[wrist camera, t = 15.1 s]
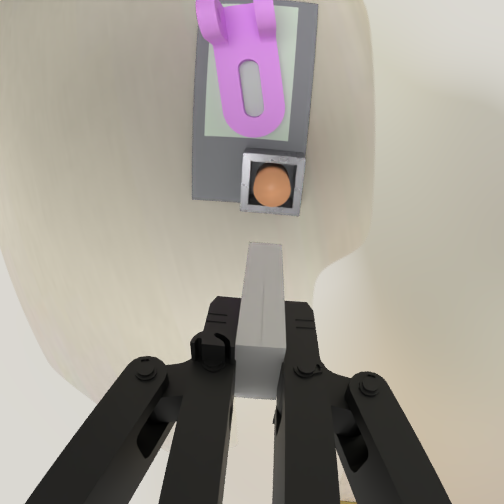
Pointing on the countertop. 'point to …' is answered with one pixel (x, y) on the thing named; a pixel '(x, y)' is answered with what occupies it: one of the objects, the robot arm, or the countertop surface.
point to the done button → (272, 185)
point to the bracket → (240, 50)
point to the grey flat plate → (252, 105)
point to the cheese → (343, 503)
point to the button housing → (272, 156)
